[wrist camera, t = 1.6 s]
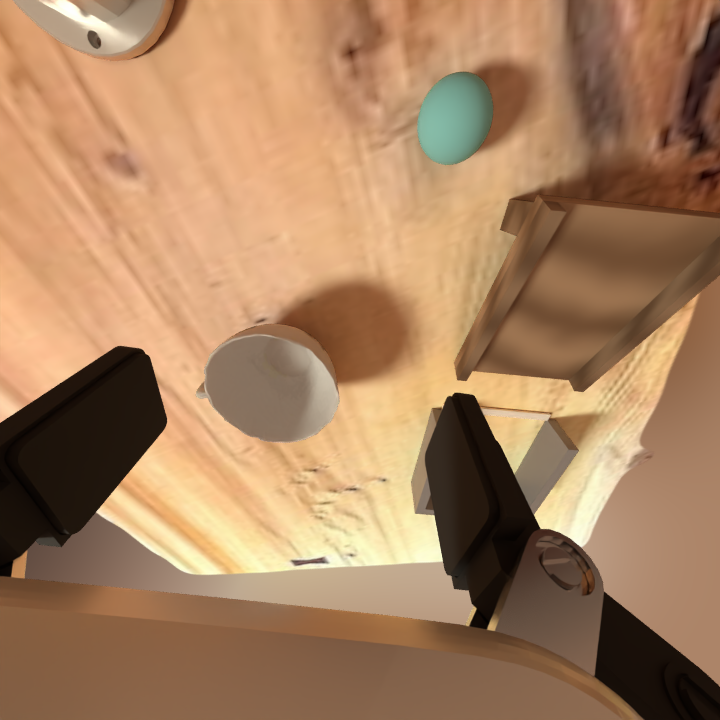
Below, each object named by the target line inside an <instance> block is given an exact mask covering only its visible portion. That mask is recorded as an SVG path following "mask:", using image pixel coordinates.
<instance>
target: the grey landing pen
mask: <svg viewBox="0 0 720 720" xmlns="http://www.w3.org/2000/svg"><path fill="white" fill-rule="evenodd" d="M443 406H444V403H443ZM443 406H442V409H443ZM480 408H481V410H482V412H483V414H484V415H490V416H501V417H512V418H523V419H534V420H545V422H544V424H543V426H542V428H541V429H540V431H539V433H538V435H537V436H536V438H535V440H534V442H533V443H532V445H531V447H530V449H529V450H528V452H527V454H526V456H525V457H524V459H523V461H522V463H521V464H520V466H519V468H518V470H517V471H516V473H515V477H516V479H517V481H518V483H519V485H520V487H521V489H522V492H523V494H524V496H525V498H526V500H527V502H528V504H529V506H530V508H531V510H532V512H533V514H535V512H536V511H537V509H538V508H539V507H540V505H541V504H542V502H543V501H544V500H545V498H546V497H547V495H548V494H549V492H550V491H551V490H552V488H553V487H554V485H555V484H556V482H557V481H558V480H559V478H560V477H561V475H562V474H563V473H564V471H565V470H566V468H567V467H568V465H569V464H570V463H571V461H572V460H573V458H574V457H575V455H576V454H577V453H578V451H579V450H578V449H577V447H576V446H575V445H574V444H573V442H572V441H571V440H570V438H569V437H568V436H567V434H566V433H565V432H564V430H563V429H562V428H561V426H560V425H559V424H558V422H557V421H556V420H551V419H549V417H550V416H551V414H550V413H541V412H531V411H520V410H509V409H498V408H487V407H480ZM442 409H432V411H431V414H430V418H429V421H428V425H427V428H426V432H425V435H424V439H423V442H422V446H421V449H420V453H419V456H418V460H417V463H416V467H415V470H414V474H413V477H412V481H411V485H412V493H413V501H414V509H415V514H426V515H434V510H433V504H432V499H431V493H430V488H429V483H428V477H427V472H426V467H425V453H426V450H427V447H428V444H429V442H430V439H431V437H432V434H433V432H434V429H435V427H436V424H437V421H438V419H439V416H440V414H441V411H442Z"/></svg>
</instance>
